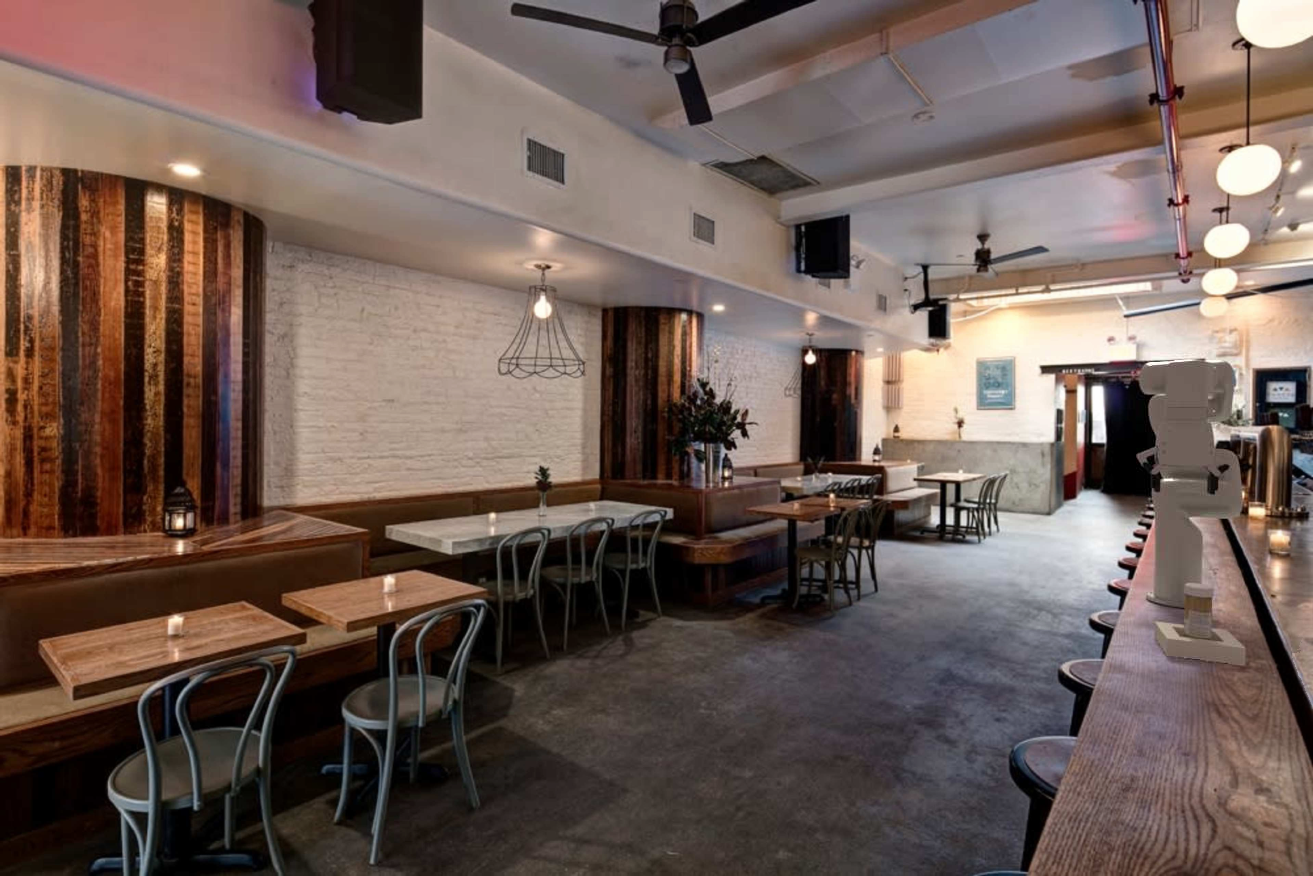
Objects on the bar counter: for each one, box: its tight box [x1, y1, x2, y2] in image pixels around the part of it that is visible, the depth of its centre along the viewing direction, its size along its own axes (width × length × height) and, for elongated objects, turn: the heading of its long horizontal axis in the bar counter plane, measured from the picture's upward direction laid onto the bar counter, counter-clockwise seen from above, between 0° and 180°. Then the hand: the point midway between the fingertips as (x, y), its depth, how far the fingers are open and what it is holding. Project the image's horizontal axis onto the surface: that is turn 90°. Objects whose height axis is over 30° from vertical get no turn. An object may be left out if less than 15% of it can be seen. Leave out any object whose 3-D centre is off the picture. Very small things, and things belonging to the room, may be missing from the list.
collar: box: [1153, 621, 1247, 667], centre depth 134 cm, size 12×12×4 cm
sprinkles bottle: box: [1183, 583, 1215, 640], centre depth 134 cm, size 5×5×13 cm
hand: (1183, 492), depth 148 cm, fingers open, 9 cm apart
